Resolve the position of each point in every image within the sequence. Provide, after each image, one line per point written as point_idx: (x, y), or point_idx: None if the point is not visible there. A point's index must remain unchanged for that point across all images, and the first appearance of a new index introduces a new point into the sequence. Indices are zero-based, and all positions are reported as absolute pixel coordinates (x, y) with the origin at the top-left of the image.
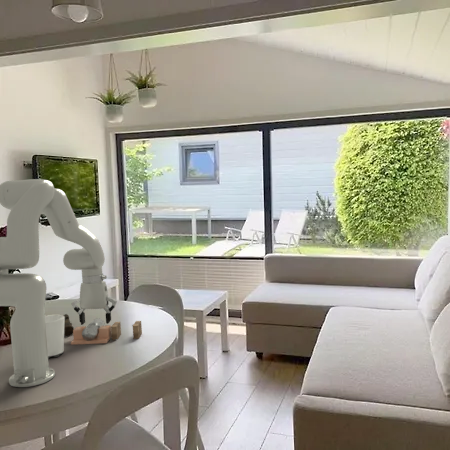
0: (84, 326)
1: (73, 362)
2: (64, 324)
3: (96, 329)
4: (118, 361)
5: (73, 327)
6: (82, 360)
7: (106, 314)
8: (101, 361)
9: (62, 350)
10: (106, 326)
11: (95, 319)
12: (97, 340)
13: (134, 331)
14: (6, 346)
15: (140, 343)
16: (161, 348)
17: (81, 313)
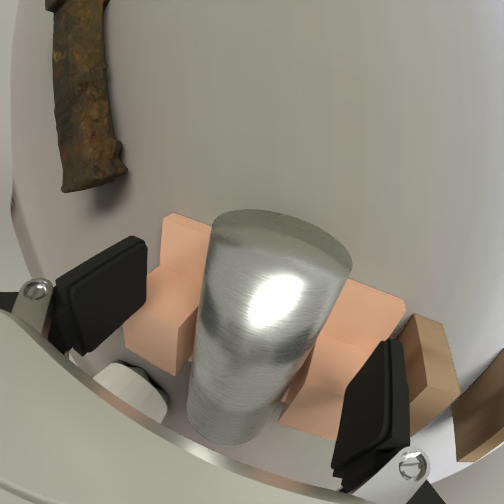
0: (169, 326)
1: (218, 452)
2: (54, 110)
3: (263, 424)
4: (326, 488)
5: (101, 175)
6: (239, 456)
7: (339, 469)
8: (287, 477)
9: (164, 415)
10: (337, 412)
11: (235, 310)
12: (281, 399)
13: (459, 436)
14: (14, 226)
15: (439, 442)
16: (453, 471)
17: (68, 341)
